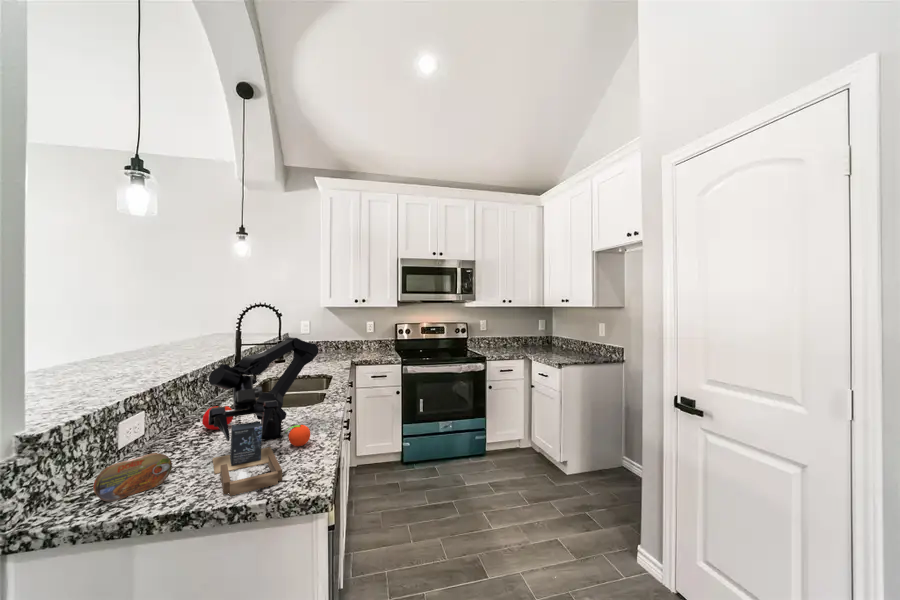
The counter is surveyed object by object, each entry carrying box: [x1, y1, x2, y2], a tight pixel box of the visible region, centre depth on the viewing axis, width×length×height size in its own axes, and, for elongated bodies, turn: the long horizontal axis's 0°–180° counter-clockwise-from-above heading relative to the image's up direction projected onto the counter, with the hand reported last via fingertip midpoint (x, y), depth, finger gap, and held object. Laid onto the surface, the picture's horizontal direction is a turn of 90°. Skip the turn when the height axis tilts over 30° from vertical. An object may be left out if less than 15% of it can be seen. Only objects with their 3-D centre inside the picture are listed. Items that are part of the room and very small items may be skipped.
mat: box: [212, 446, 275, 475], centre depth 110 cm, size 16×12×1 cm
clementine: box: [285, 424, 312, 447], centre depth 122 cm, size 8×7×7 cm
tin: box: [92, 452, 173, 502], centre depth 91 cm, size 15×3×8 cm, turn 148°
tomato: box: [202, 405, 235, 431], centre depth 137 cm, size 9×10×8 cm
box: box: [229, 420, 263, 466], centre depth 109 cm, size 8×6×11 cm
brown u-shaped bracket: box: [219, 454, 283, 497], centre depth 98 cm, size 14×14×3 cm
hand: (246, 437), depth 108 cm, fingers open, 9 cm apart
